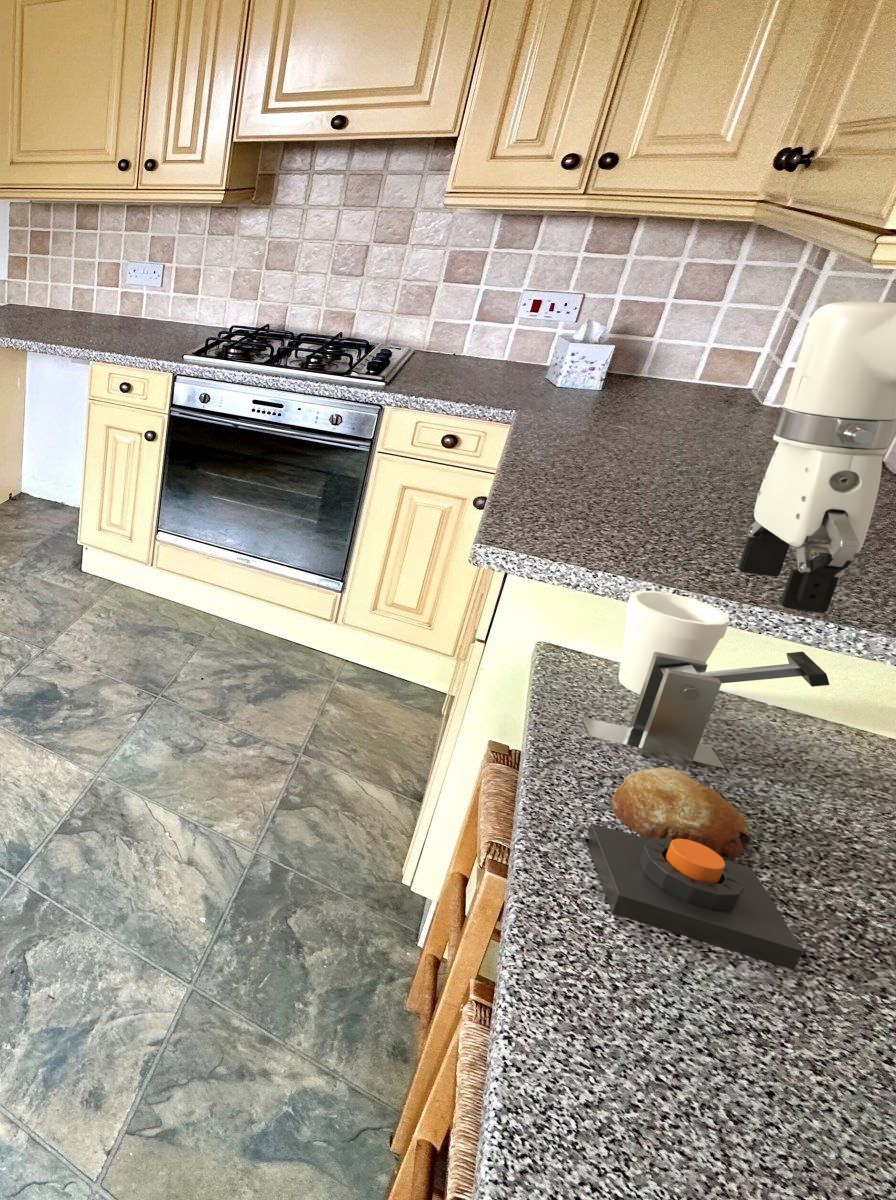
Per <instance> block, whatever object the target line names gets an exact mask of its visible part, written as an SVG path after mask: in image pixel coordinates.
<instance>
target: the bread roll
mask: <svg viewBox="0 0 896 1200" xmlns="http://www.w3.org/2000/svg"><path fill="white" fill-rule="evenodd" d="M610 800H611V801H610V808H611V810H612V812H613V814H614V816H615V817H616V818H618V820H619V821H620V822H622V823H623V824H624V825H625V826H627V827H628V828H630V830H633V831H634V832H636V833H637V834H639V835H641V836H642V837H643V838H646V839H665V838H668V839H672V840H674V839H687V840H691V841H694V842H697V843H700V844H702V845H704V846H706V847H708V848H710V849H711V850H713V851H714V852H716V853H717V854H718V855H719V856H721V858H722V859H723V860H735V859H737V858H739V856H740V855H741V854H742V853H743V852H744V850H745V847H746V846H747V845H748V844H749V843H750V842H751V841H752V838H751V836H750V832H749V828H748V826H747V822H746V817H745V815H743V814H741V812H739V811H738V809H736V807H735V806H733V805H732V804H731V803H730V801H727V800H725V799H724V798H723V797H722V795H721V794H719V792H717V791H716V790H713V789H711V788H708V787H706V786H705V785H704V784H702V783H701V782H698V781H696V780H695V779H694V778H692V777H690V776H689V775H687V774H686V773H685V772H684V771H681V770H678V769H676V768H671V767H663V766H662V767H660V766H659V767H651V768H644V769H639V770H637V771H635V772H633V773H628V774H627V776H626V777H625V778H624V779H623V782H622V784H620V785H619V786H618V788H617V789H616V791H615V792H614V794H613V796H612V797H611V799H610Z"/></svg>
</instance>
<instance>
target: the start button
mask: <svg viewBox="0 0 896 1200" xmlns="http://www.w3.org/2000/svg"><path fill="white" fill-rule="evenodd" d="M665 858H666V861H667V863H668V864H669V865H671V866H672V867H673V868H674V869H675V870H677V871H678V872H680V873H682V874H684V875H686V876H688V877H690V878H692V879H695V880H698V881H702V882H705V883H709V884H715V883H717V882H719V880H720V877H721V875H722V872H723V870H724V868H725V862H724V860H725V859H724V860H723V859H722V858H721V856H719V855H718V854H717V853H716V852H714V851H713V850H711V849H710V848H708V847H706V846H704V845H702V844H700V843H697V842H694V841H691V840H687V839H674V840H672V841H671V843H670V846H669V849H668V851H667V854H666V857H665Z"/></svg>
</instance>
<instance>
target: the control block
mask: <svg viewBox="0 0 896 1200" xmlns="http://www.w3.org/2000/svg"><path fill="white" fill-rule="evenodd" d="M587 835H588V838H587V837H586V838H585V840H584V841H585V844H586V846H587V849H588V853H589V854H590V857H591V860H592V863H593V865H594V868H595V871H596V874H597V876H598V880H599V882H600V884H601V887H602V890H603V893H604V895H605V898H606V901H607V903H608V906H609V909H610V911H611V914H613V915H616V916H619V917H622V918H626V919H629V920H632V921H636V922H638V923H641V924H644V925H648V926H651V927H654V928H658V929H661V930H664V931H666V932H670V933H674V934H677V935H680V936H683V937H686V938H689V939H692V940H695V941H699V942H702V943H705V944H708V945H712V946H715V947H718V948H721V949H724V950H727V951H730V952H734V953H737V954H740V955H743V956H746V957H749V958H753V959H756V960H759V961H762V962H766V963H768V964H771V965H775V966H779V967H782V968H785V969H787V970H791V971H795V969H796V967H797V965H798V963H799V961H800V958H801V956H802V954H803V952H804V951H803V948H802V947H801V945H800V944H799V942H798V940H797V939H796V937H795V935H794V934H793V932H792V931H791V929H790V927H789V926H788V924H787V923H786V921H785V920H784V918H783V916H782V914H781V913H780V911H779V910H778V908H777V906H776V905H775V904H774V902H773V900H772V898H771V896H770V895H769V894H768V892H767V889H765V887H764V885H763V883H762V882H761V880H760V879H759V877H758V876H757V874H756V872H755V871H754V869H753V868H752V867H751V866H747V865H744V864H740V863H736V862H733V861H729V860H727V859H724V862H725V868H724V870H723V872H722V875H721V877H720V880H719V882H717V883H715V884H709V883H705V882H702V881H698V880H695V879H692V878H690V877H688V876H686V875H684V874H682V873H680V872H678V871H677V870H675V869H674V868H673V867H672V866H671V865H669V864H668V863H667V861H666V858H665V857H666V854H667V851H668V849H669V846H670V843H671V841H672V839H668V838H665V839H649V838H646V837H644V836H639V835H636V834H631V833H628V832H624V831H621V830H617V829H614V828H610V827H607V826H603V825H599V824H595V823H593V822H592V823H590V825H589V828H588V831H587Z"/></svg>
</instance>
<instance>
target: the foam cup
mask: <svg viewBox="0 0 896 1200" xmlns="http://www.w3.org/2000/svg"><path fill="white" fill-rule="evenodd" d="M625 614H626V616H625V617H626V618H625V625H624V633H623V640H622V648H621V655H620V663H619V671H618V681H619V684H620V685H622V686H623V687H624V688H625V689H627V690H629V691H631V692H633V693H635V694H637V695H640V692H641V690H642V687H643V684H644V681H645V678H646V675H647V672H648V669H649V666H650V663H651V660H652V657H653V654H654V652H659V653H664V654H669V655H674V656H679V657H685V658H690V659H695V660H700V661H705V663H706V664H707V662H708V660H709V658H710V656H711V655H712V654H713V652H714V650H715V648H716V647H717V645H718V643H719V641H720V640H722V639H723V638H725V635H726V633H727V629H728V627H729V624H730V621H731V620H730V618H729V617H728V614H727V613H725V612H724V611H722V610H721V609H718V608H717V607H716V606H713V605H711V604H708V603H705V602H703V601H701V600H698V599H695V598H691V597H688V596H684V595H680V594H676V593H670V592H663V591H658V590H637V591H634V592H632V593H629V597H628V600H627V603H626V607H625Z"/></svg>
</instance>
